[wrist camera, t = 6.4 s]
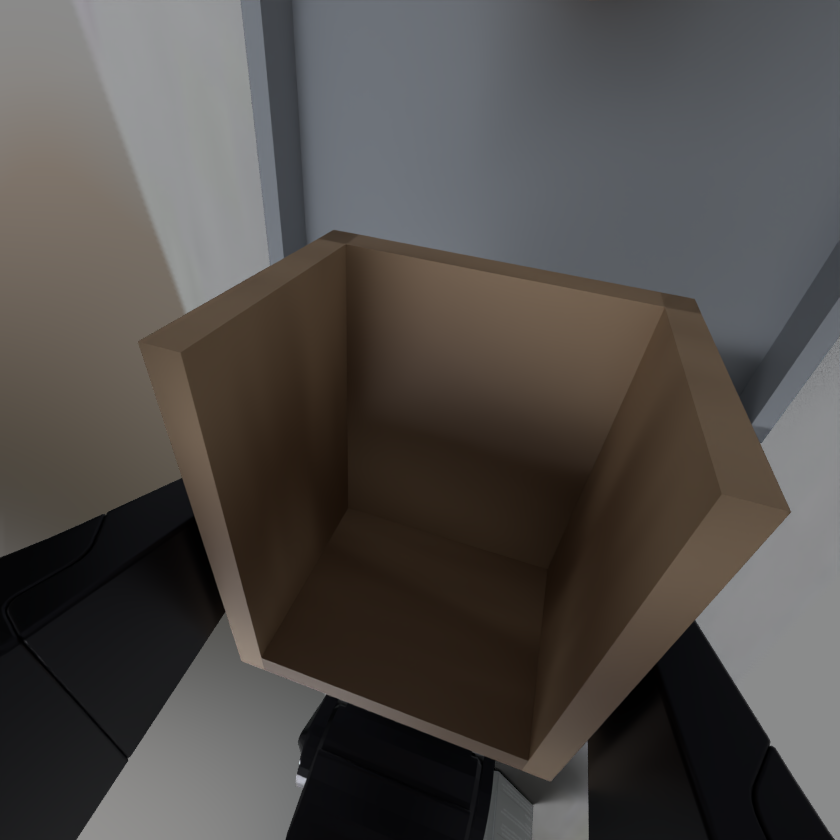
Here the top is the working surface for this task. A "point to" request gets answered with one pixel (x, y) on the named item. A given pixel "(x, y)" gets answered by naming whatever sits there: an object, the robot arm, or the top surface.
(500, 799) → the skincare box
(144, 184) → the top surface
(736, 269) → the tray
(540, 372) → the scoop
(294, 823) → the robot arm
